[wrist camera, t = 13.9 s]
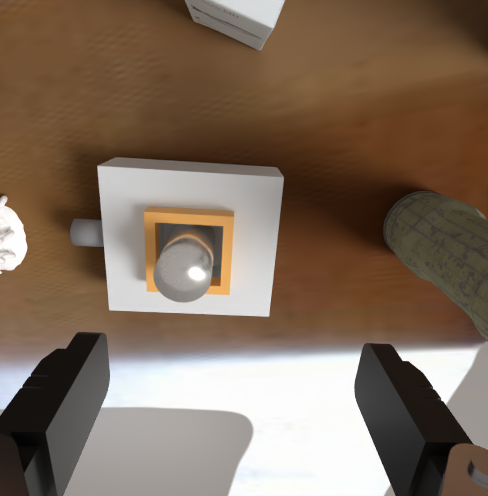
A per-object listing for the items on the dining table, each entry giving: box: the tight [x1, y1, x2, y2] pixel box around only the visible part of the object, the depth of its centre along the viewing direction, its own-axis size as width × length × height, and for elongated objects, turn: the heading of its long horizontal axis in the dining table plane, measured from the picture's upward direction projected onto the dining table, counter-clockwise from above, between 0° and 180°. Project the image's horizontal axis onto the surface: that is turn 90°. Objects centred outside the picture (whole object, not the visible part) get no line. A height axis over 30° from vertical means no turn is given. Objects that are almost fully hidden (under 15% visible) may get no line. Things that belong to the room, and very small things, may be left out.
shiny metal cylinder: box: [153, 224, 216, 303], centre depth 36 cm, size 5×5×10 cm
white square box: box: [70, 157, 284, 317], centre depth 40 cm, size 22×16×8 cm
